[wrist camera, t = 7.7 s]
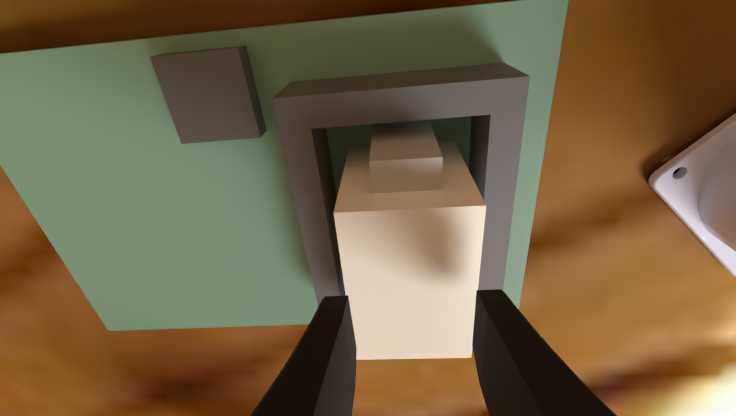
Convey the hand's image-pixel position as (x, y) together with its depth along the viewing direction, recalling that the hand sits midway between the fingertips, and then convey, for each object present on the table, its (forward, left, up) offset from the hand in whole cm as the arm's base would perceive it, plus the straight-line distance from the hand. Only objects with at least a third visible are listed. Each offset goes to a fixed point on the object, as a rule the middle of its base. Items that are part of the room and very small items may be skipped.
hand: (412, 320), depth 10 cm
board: (+4, -4, -7) cm, 9 cm away
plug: (0, 0, -6) cm, 6 cm away
